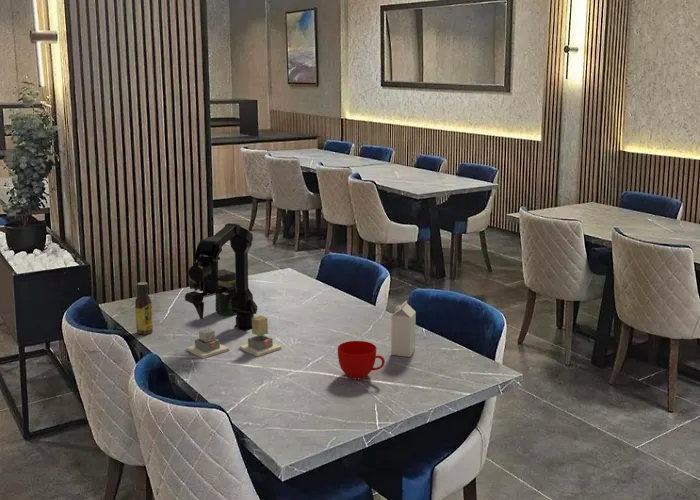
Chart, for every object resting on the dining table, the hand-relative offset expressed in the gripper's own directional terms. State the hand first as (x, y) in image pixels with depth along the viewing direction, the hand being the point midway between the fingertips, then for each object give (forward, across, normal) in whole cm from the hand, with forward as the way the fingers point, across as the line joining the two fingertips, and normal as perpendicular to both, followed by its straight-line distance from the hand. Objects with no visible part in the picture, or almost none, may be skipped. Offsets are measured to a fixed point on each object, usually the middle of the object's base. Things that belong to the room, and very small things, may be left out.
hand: (212, 316), depth 270 cm
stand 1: (+13, +1, -2) cm, 13 cm away
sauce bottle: (+13, +8, -35) cm, 38 cm away
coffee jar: (+13, -29, -32) cm, 45 cm away
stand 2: (+13, -13, +11) cm, 22 cm away
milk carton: (+13, -47, +51) cm, 71 cm away
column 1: (+12, +1, -2) cm, 12 cm away
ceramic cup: (+14, -21, +55) cm, 60 cm away
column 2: (+7, -13, +11) cm, 19 cm away
